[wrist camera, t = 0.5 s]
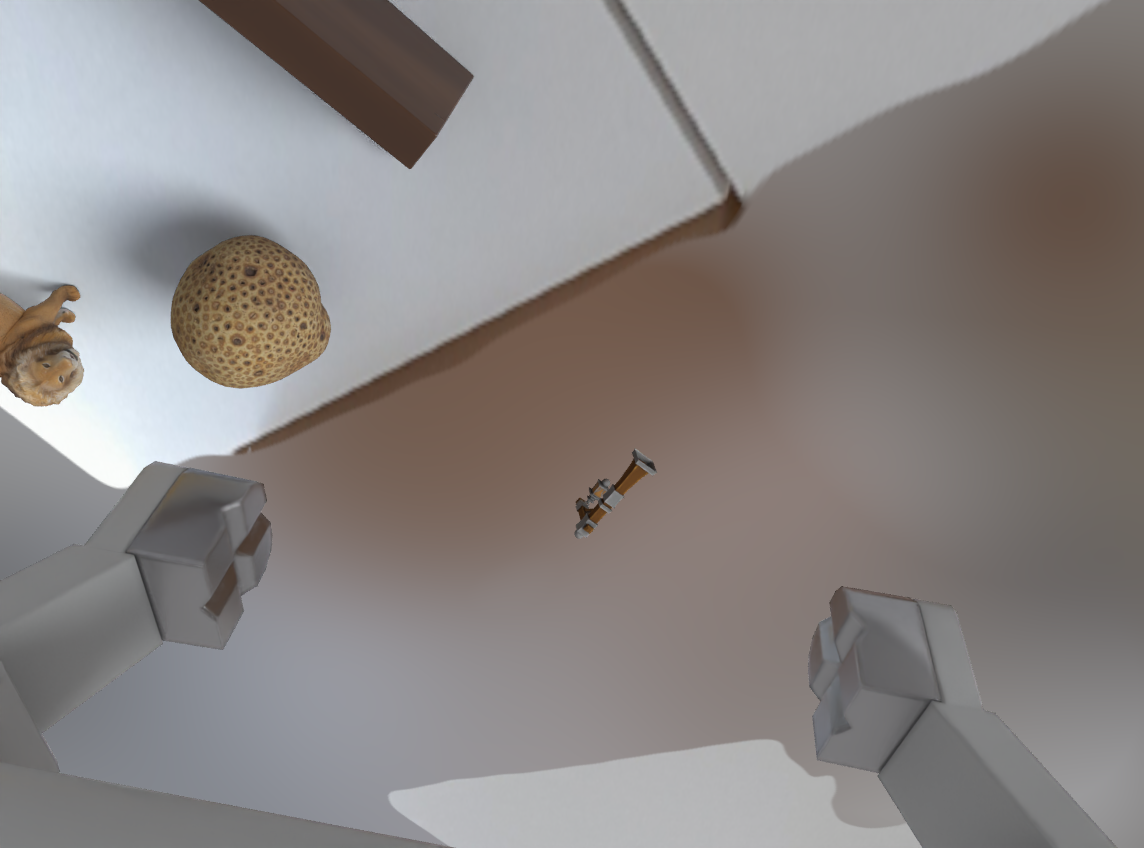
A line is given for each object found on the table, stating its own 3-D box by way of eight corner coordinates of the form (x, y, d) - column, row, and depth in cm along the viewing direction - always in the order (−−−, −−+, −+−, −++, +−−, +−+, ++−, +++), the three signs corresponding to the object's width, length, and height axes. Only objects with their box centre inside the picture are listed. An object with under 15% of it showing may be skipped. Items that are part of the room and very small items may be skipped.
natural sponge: (217, 183, 52) (130, 275, 45) (356, 229, 53) (292, 326, 46) (222, 296, 59) (147, 391, 52) (346, 335, 59) (289, 435, 52)
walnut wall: (218, -150, 39) (138, -113, 34) (474, 75, 45) (437, 135, 40) (171, -42, 43) (94, 6, 38) (413, 154, 49) (372, 217, 44)
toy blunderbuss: (562, 505, 67) (568, 537, 63) (629, 432, 65) (639, 461, 61) (580, 517, 68) (586, 549, 63) (646, 445, 65) (657, 474, 61)
